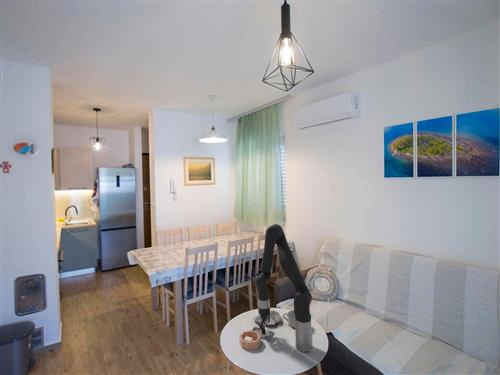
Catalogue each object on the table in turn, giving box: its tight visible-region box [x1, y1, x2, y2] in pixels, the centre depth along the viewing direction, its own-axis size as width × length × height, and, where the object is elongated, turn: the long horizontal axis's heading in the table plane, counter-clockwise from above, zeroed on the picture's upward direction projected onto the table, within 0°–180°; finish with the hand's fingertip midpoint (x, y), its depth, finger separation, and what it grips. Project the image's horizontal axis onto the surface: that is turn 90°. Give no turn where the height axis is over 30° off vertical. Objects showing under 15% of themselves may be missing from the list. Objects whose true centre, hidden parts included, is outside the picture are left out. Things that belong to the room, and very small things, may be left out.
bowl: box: [238, 329, 262, 351], centre depth 160 cm, size 12×12×5 cm
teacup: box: [282, 309, 295, 329], centre depth 179 cm, size 14×11×8 cm
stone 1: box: [244, 336, 253, 342], centre depth 158 cm, size 4×3×4 cm
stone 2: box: [261, 326, 270, 336], centre depth 166 cm, size 4×3×4 cm
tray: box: [251, 326, 275, 342], centre depth 169 cm, size 14×9×1 cm, turn 62°
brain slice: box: [253, 310, 282, 327], centre depth 185 cm, size 20×17×3 cm
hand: (265, 332), depth 166 cm, fingers closed on stone 2, 3 cm apart
